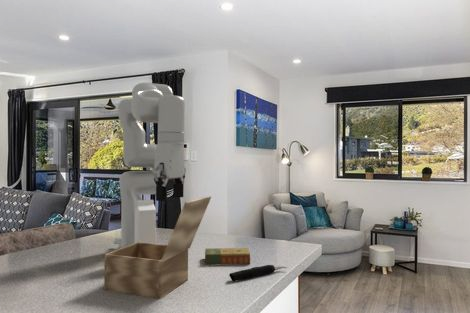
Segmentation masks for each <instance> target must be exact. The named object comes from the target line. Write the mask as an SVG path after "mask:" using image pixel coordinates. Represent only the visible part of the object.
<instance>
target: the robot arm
mask: <svg viewBox="0 0 470 313" xmlns="http://www.w3.org/2000/svg"><path fill="white" fill-rule="evenodd" d="M131 96H132V98H124V99H122V100H120V101H119V103H118V108H117V111H118V113H117V115H118V120H119V122H120V123H119V124H120V126H121V128H122V134H123V137H122V139H123V141H122V142H123V146H122V148H123V150H122V153H123V155H122V156H123V157H122V158H123V163H124V165H125V166H126V167H128V168H150V169H151V170H129V171H125V172H123V173H122V174H120V177H119V181H118V182H119V190H120V197H121V206H120V207H121V210H120V211H121V214H120V216H121V219H120V220H121V224H120V226H121V229H120V233H121V234H120V238H119V237H116V238H115V239H114V241H113V244H115V245H118V247H117V248H116V250H118V249H121V248H123V247H126V246H129V245H131V244H134V243H135V208H136V206H137V201H138V200H143V199H142V197H140V196H143V195H145V196H146V195H155V201H156V202H167V201H168V186H167V184H168V181H169V180H172V181H173V182H174V183H172V186H173V187H172V191H173V192H172V197H173V198H184V188H185V187H184V184H185V178H186V173H187V169H186V167H185V153H184V145H185V116H186V114H185V111H186V110H185V108H186V103H185V99H184V97H182V96H180V95H174V92H173V90H172V88H171V87H170V86H169V85H168V84H162V83H154V82H139V83H137V84H136V85H134V86H133V88H132V92H131ZM140 123H148V124H149V123H151V124H152V123H153V124H157V144H155V143H146V131H145V129H144V127H143V126H142V125H141V124H140Z"/></svg>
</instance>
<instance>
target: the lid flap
mask: <svg viewBox="0 0 470 313" xmlns="http://www.w3.org/2000/svg"><path fill="white" fill-rule="evenodd" d="M211 199H212V196H211V195H208V196H205V197H204V196H203V197H200V198H195V199H192V200H187V201H184V203H183V206H182V209H181V211H180V214H179V217H178V219H177V220H176V223H175V226H174V228H173V231H172V233H171V236H170V238H169V241H168V243H167V244H166V245H167V247H166V250H165V252H164V255H163V257H162V260H161V261H162V262H163V261H165V260H167V259H169V258H171V257H173V256H175V255H177V254H179V253H181V252H183V251H185V250H187V249H188V250H189V249H191V246H192V244H193V241H194V239H195V238H196V235H197V231H198V230H199V228H200V225H201V222H202V220H203V217H204V216H205V213H206V211H207V208H208V205H209V204H210V201H211Z"/></svg>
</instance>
